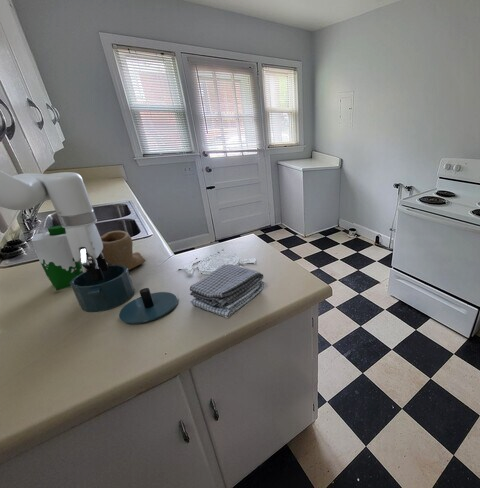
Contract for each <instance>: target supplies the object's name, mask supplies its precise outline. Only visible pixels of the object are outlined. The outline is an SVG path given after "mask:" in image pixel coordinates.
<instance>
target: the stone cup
mask: <svg viewBox="0 0 480 488" xmlns="http://www.w3.org/2000/svg"><path fill="white" fill-rule="evenodd" d="M100 237H101V240H102V243H103V250H102V253H103V255H104V258H103V259H105V260H106V263H107V264H112V265H122V266H125V267H126V268H127V269H128V271H130V270H131V269H134V268H136V267H138V266H139V265H142V264H143V263H146V261H147V259H146V258H145V257H144V256H143V255H142V254H141V253H140V252H138V251H136V252H133V251H134V250H133V247H134V245H133V243H134V242H133V239H132V237H131V236H130V233H129V232H127V231H124V230H112V231H108V232H106V233H104V234H103V235H100Z"/></svg>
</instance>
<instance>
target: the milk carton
mask: <svg viewBox="0 0 480 488" xmlns="http://www.w3.org/2000/svg"><path fill="white" fill-rule="evenodd" d="M31 243H32V246H33V250H34V251H35V254H36V256H37V259H38V260H39V262H40V265H41V267H42V269H43V271H44V273H45V275H46V277H47V279H48V280H49V282H50V283H51V285H52V286H53V288H54V289H55V290H56V291H59V290H63V289H66V288H70V287H71V285H70V282H71V280H72V279H73V278H74V277H76V276H78V275H79V274H81V273H83V272H84V269H83V268H84V267H83V266H82V264H81V260H80V262H76V261H75V260H74V257H73V255H72V252H71V249H70V246H69V243H68V240H67V236H66V231H65V228H63V227H62V225H61V224H59V225H53V226H50V227H48V228H47V231H44V232H42V233H41V232H40V233H36V234H35V233H34V235H33V237H32V239H31ZM71 288H72V287H71Z"/></svg>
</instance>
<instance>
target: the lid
mask: <svg viewBox="0 0 480 488" xmlns="http://www.w3.org/2000/svg"><path fill="white" fill-rule="evenodd" d="M139 295H140V296H139V297H136V298H135V299H133V300H131V301H129V302H127V304H125V305H124V306H123V307H122V308H121V309H120V311H119V313H118V317H119V319H120V321H121V322H123V323H125V324H130V325H131V324H132V325H136V324H137V325H138V324H145V323H148V322H152V321H154V320H158V319H160V318H162V317H163V316H165V315H167V314H168V313H170V312H171V311H173V310H174V309H175V308H176V306H177V304H178V296H177V295H176V294H174V293H172V292H167V291H159V292H151V290H150V288H149V287H144V288H141V289H140V290H139Z"/></svg>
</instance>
